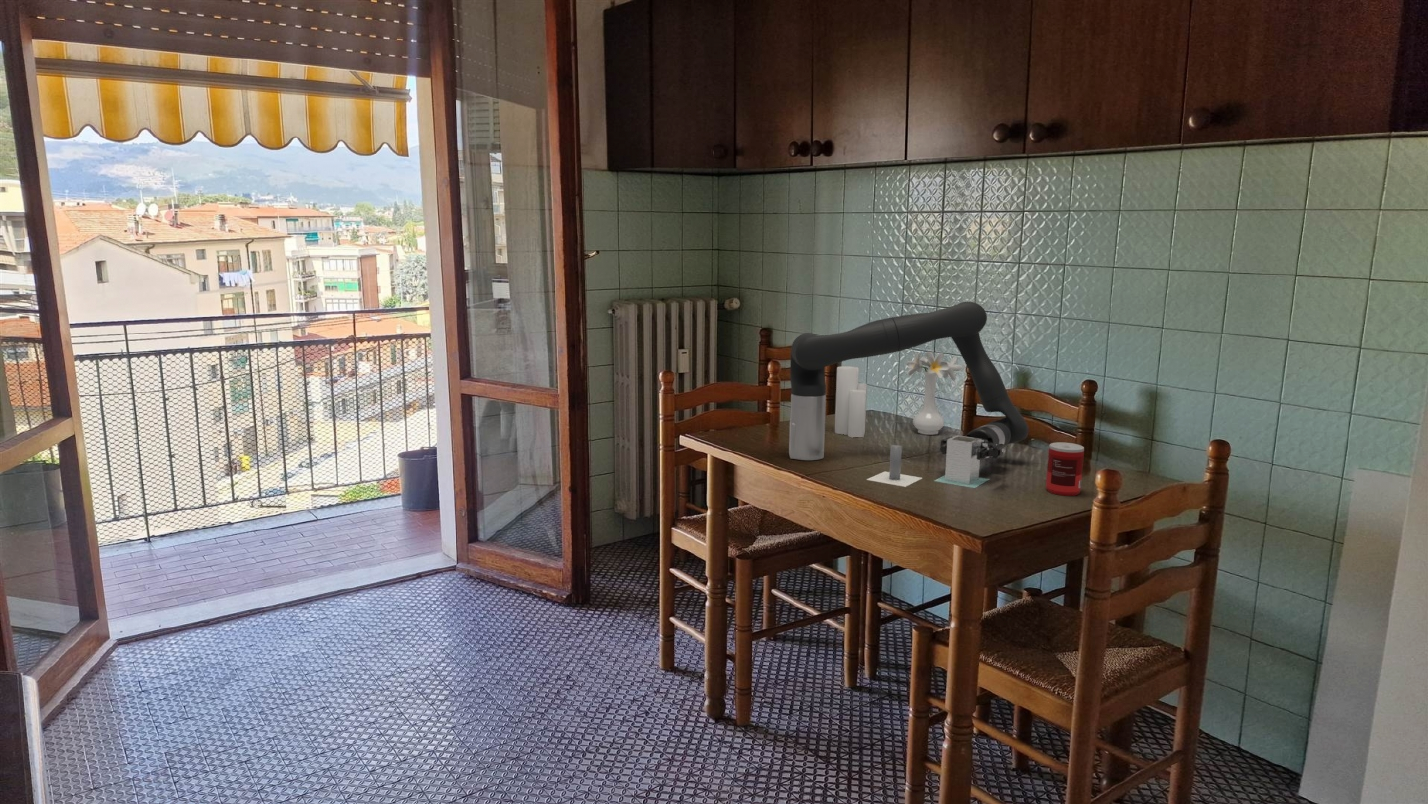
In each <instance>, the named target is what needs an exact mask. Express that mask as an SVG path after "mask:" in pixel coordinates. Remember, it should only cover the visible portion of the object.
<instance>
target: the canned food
mask: <svg viewBox="0 0 1428 804" xmlns="http://www.w3.org/2000/svg"><path fill="white" fill-rule="evenodd" d="M1084 456H1085V447H1084V446H1082V445H1081V444H1078V443H1072V442H1064V441H1063V442H1060V441H1059V442H1058V441H1057V442H1052V443H1050V444H1049V445H1048V455H1047V466H1046V467H1047V468H1046V480H1045V481H1046V483H1045V488H1046V490H1047V491H1048V493H1051V494H1054V495H1058V496H1066V497H1068V496H1069V497H1071V496H1073V497H1074V496H1077V495H1079V494H1080V493H1081V487H1082V478H1083V468H1084V458H1085V457H1084Z"/></svg>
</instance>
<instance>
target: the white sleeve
mask: <svg viewBox="0 0 1428 804" xmlns="http://www.w3.org/2000/svg"><path fill="white" fill-rule="evenodd" d="M951 437H952V438H950V439H947V454H945V455H946V456H945V471H944V473H945V474H944V475H945V481H951V482H957V483H962V484H968V485H970V484H971V483H973V482H975V481H977V480H979V478H980V464H981V463H980V461H981V460H977V451H978V450H980V449H981V439H979V438H972V437H966V435H965V436H963V435H958V434H957V435H954V436H951Z"/></svg>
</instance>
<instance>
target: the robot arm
mask: <svg viewBox="0 0 1428 804" xmlns="http://www.w3.org/2000/svg"><path fill="white" fill-rule="evenodd" d="M987 320H988V316H987V312H986V310H985V308H984V307H983V306H982V305H981V304H979V303H976V302H973V301H968V300H967V301H962V302H960V303H957V304H954V305H951V306H948V307H945V308H942V309H938V310H934V311H931V312H922V313H921V312H920V313H911V314H903V315H899V316H892V317H888V318H882V319H877V320H874V321H871V322H866V323H864V324H862V325H860V326H857V327H855V328H853V329H850V330H848V331H844V332H840V333H833V334H825V335H817V334H814V333H812V332H811V333H810V332H805V333H803V334H799V335H798V336H796V338H795V339H794V340H793V342H792V344H791V348H790V367H789V368H790V369H789V370H790V371H789V372H790V375H789V376H790V377H789V378H790V387H791V388H790V390H791V391H790V393H791V395H790V419H789V437H788V438H789V439H788V444H789V445H788V454H789V459H790V460H791V459H794V460H798V461H799V460H800V461H818V460H822V459H824V456H825V455H824V454H825V432H826V431H825V429H826V427H825V426H826V405H827V404H826V403H827V398H826V397H827V383H826V378H825V368H826V367H829V366H832V365H836V364H838V363H842V362H845V361H849V360H855V359H864V358H869V357H870V358H871V357H877V356H883V355H887V354H893V353H898V352H903V351H905V350H909V349H912V348H915V347H918V346H920V345H923V344H927V343H929V342H933V341H935V340H939V339H941V340H942V339H946V338H947V339H948V338H951V339H952V341H953V343H954V344H955V346H956V348H957V349H958V351H959V352H960V353H959V354H960V355H961V357H962V359H963V361H964V363H965V365H966V368H967V369H968V371H969V374H970V376H971V379H972V381H973V384H974V387H975V389H976V393H977V394H978V396H979V400H980V402H981V405H982V407H983V409H984V411H985V412H987V413H1001V414H1003V415H1004V416H1005V417H1002V418H999V419H995V420H993V421H990V422H988V423H987V424H985V425H982V426H979V427H977V428H975V429H972V430H971V431H969V432H968V433H967V434H966V435H965V437H972V438H979V439H981V449H980V450H978V451H977V460H980V461H981V460H984V459H990V457H992V459H993V460H997V459H999V458H1000V457H1002V456H1003V455H1004V453H1005V452H1004V451H1005V449H1004V448H1006V446H1007V445H1011V444H1014V443H1017V442H1021V441H1023V440H1026V439H1027V438H1028V437H1029V431H1030V430H1029V426H1028V423H1027V421H1026V419H1025V418H1024V416H1023V415H1022V414H1021V412H1020V411H1019V410H1018V409H1017V407H1015V405H1014V403H1013V402H1012V400H1011V398H1010V396H1009V394H1008V391H1007V387H1006V386H1005V384H1004V381H1003V379H1002V377H1001V375H1000V373H999V370H998V369H997V368H996V366H995V365H994V363H993V362H992V360H991V359H990V357H989V356H988V354H987V352H986V350H985V348H984V346H983V343H982V340H981V337H980V332H981V331H982V330H983V328H985V326H986V323H987ZM952 437H953V436H949V437H946V438H943V439H941V440H940V443H939V444H940V446H939V447H940V448H939V449H940V453H941V454H942V455H946V454H947V439H950V438H952Z"/></svg>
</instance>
